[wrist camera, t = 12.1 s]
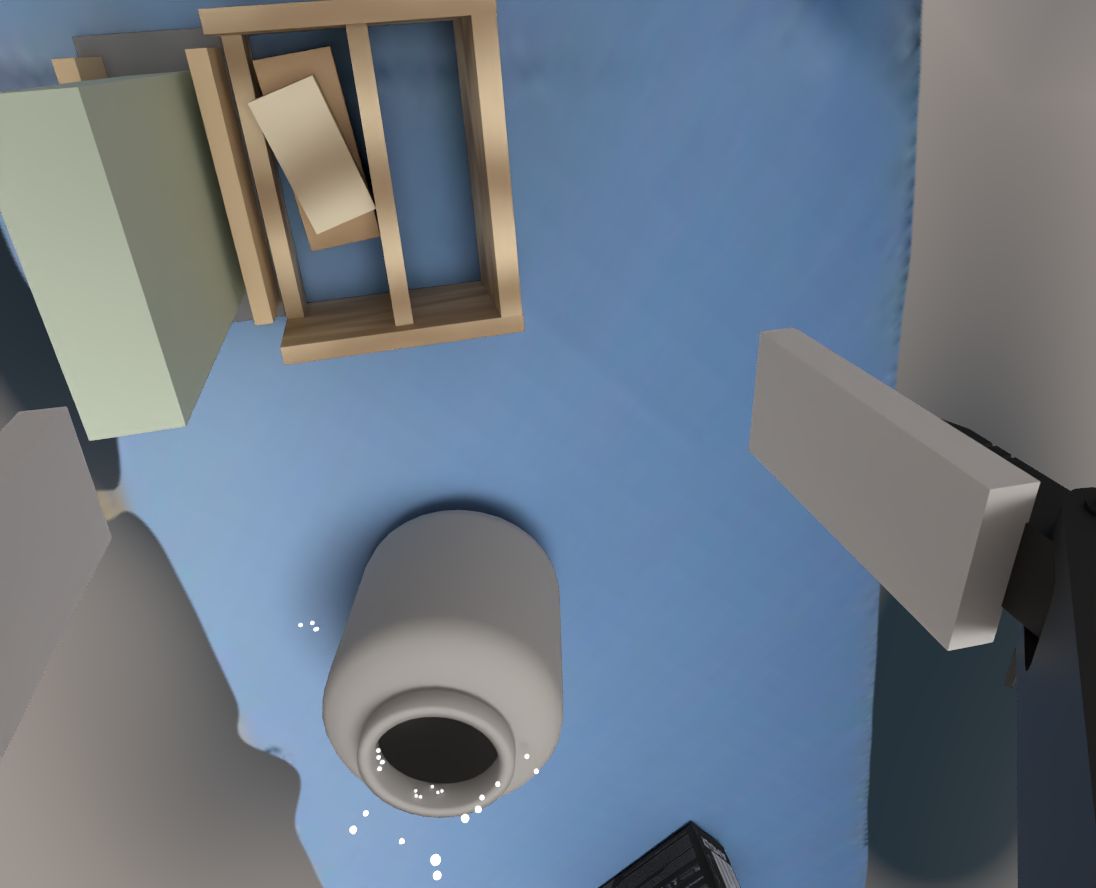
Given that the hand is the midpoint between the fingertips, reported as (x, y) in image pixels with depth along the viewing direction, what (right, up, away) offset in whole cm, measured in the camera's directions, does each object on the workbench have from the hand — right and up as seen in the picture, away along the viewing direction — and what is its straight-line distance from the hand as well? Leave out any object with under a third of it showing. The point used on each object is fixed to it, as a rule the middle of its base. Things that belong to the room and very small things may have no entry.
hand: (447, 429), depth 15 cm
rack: (-8, +16, +31) cm, 36 cm away
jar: (-7, -10, +45) cm, 47 cm away
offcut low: (-11, +17, +31) cm, 37 cm away
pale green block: (-18, +14, +29) cm, 37 cm away
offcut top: (-11, +16, +27) cm, 33 cm away
